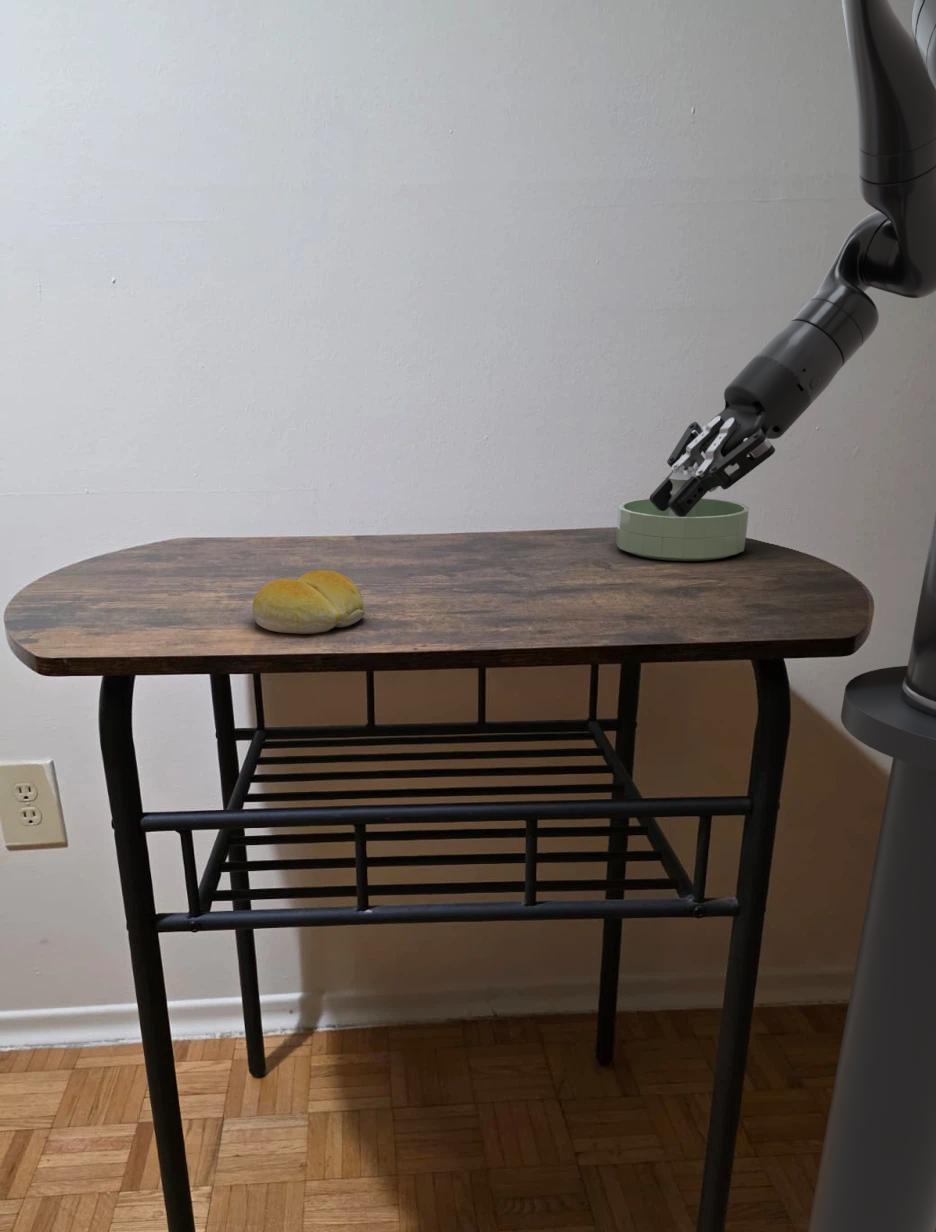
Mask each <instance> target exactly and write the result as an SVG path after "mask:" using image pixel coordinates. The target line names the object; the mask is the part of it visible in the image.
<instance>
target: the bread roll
mask: <svg viewBox="0 0 936 1232" xmlns="http://www.w3.org/2000/svg"><path fill="white" fill-rule="evenodd" d="M365 613H366V606H365V603H364V599H363V596H362V593H361V590H360V589H359V587H358V586H357V585H356V584H355V582H353V580H351V579H350V578H349V577H348V576H346V575H345V574H342V573H339V572H337V571H334V570H326V569H315V570H311V571H308V572H306V573H304V574H302V575H300V577H299V578H297V579H295V578H276V579H274V580H271V581H269V582H267V583H266V584H264V585H263V586H262V587H260V589H259V590H258V591H257V592H256V594H255V596H254V599H253V601H252V616H253V618H254V621H255V622H256V625H258V626H260V628H263V629H265V630H267V631H270V632H276V633H281V634H285V633H286V634H298V635H311V634H312V635H313V634H319V633H325V632H328V631H331V629H334V628H346V627H349V626H352V625H354V624H356V623H357V622H359V621H360V620H362V619H363V617H364V615H365Z"/></svg>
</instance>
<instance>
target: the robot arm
mask: <svg viewBox="0 0 936 1232" xmlns="http://www.w3.org/2000/svg"><path fill="white" fill-rule="evenodd" d="M912 5H913V6H912V10H911V17H910V18H911V19H910V20H911V23H910V24H911V34H912V36H911V34H910V33H909V32H908V31H907V29H906V28H905V26H904V25H903V24H902V23H901V21H900V19H899V18H898V16H897V15H896V13H895V12H894V10H893V7H892V5H891V4H890V1H889V0H841V6H842V13H843V20H844V26H845V27H844V28H845V33H846V40H847V46H848V53H849V59H850V65H851V71H852V76H853V84H854V90H855V91H854V92H855V99H856V101H855V102H856V111H857V132H858V133H857V135H858V136H857V137H858V180H859V191H860V195H861V198H862V199H863V201H864V202H865V203H866V204H867V205H869V206H870V207H871V208H873V209H874V210H876V211H874V212H871V213H870V214H868V215H866V216H865V217H863V218H862V219H860V220H859V221H858V222H857V224H855V225H854V226H853V227H852V229H851V230H850V231H849V232H848V234H847V236H846V237H845V238H844V241H843V243H842V245H841V246H840V249H839V250H838V252H837V255H836V256H835V258H834V260H833V262H832V263H831V266H830V267H829V269H828V271H827V273H826V274H825V276H824V278H823V280H822V282H821V283H820V285H819V287H818V289H817V291H816V292H815V294H814V295H813V296H812V297H811V298H810V299H809V300H808V301H807V303H805V305H804V306H803V307H802V308H801V309H800V310H799V311H798V312H797V313H796V314H795V315H794V317H793V318H792V319H790V321H789V322H788V323H787V324H786V325H785V326H784V327H783V328H782V329H780V330H779V331H778V332H777V333H776V334H775V335H773V336H772V337H771V338H770V339H769V340H768V341H767V343H766V344H765V345H764V346H763V347H761V349H760V350H759V351H758V352H757V354H755V356H754V357H753V358H752V359H751V360H750V361H749V362H748V363H747V364H746V365H745V367H743V369H742V370H741V371H740V372H739V373H738V374H737V375H736V377H734V379H732V380H731V382H730V383H729V384H728V385H727V386H726V388H725V389H724V391H723V399H724V408H723V410H721V411H720V412H719V413H718V414H717V415H715V416H714V417H713V418H712V419H710V421H709V422H708V423H707V424H706V425H703V426H700V425H699V423H698V422H697V421H694V422H691V423H690V424H689V425H688V426H687V428H686V430H685V431H684V432H683V435H682V436H681V437H680V439H679V440H678V442H677V444H676V445H675V448H674V449H673V450H672V452H671V453H670V455H669V457H668V459H667V460H666V463H667V465H668V466H669V467H670V470H671V472H670V474H668V475H667V477H666V478H665V479H664V480H663V481H661V483H660V484H659V485H658V487H657V488H655V489H654V491H653V492H652V493H651V494H650V495H649V498H650V501H651V502H652V503H653V505H654V506H655V507H656V508H657V509H658V510H661V511H665V510H667V508H668V507H669V508H670V509H671V510H672V511H673V512H674V513H675V514H676V515H677V516H679V517H684V516H686V514H687V513H688V512H689V511H690V510H691V509H692V508H693V507H694V506H695V505H696V504H697V503H698V501H699V500H700V499H701V498H704V497H705V496H706V494H707V493H708V492H709V493H711V492H714V491H716V490H717V489H718V488H719V487H720V488H721V489H722V490H728V489H729V488H731V487H732V486H733V485H734V484H735V483H737V482H739V481H740V480H741V479H743V478H744V477H745V476H747V474H748V475H749V473H750V472H752V471H754V469H756V467H758V466H759V465H761V464H762V463H764V462H765V461H766V460H768V459H769V458H770V457H771V456H773V455H774V454H775V452H776V448H775V447H774V445H773V443H772V442H771V441H770V440H776V439H780V438H781V437H782V436H783V435H784V434H785V433H786V432H787V431H788V430H789V429H790V427H791V426H793V424H794V423H795V422H796V421H797V420H798V419H799V418H800V417H801V416H802V414H803V413H804V412H805V411H806V410H808V409H809V407H810V406H811V405H812V404H813V403H814V402H815V401H816V399H818V397H819V396H821V394H822V393H823V392H824V391H825V390H826V389H827V387H828V386H829V385H830V384H831V382H832V380H834V378H835V377H836V375H837V374H838V372H839V371H841V369H842V368H843V367H844V366H845V365H846V363H848V361H849V360H851V358H852V357H853V356H854V355H855V354H856V353H857V352H858V351H859V350H860V348H861V347H862V346H863V345H865V344H866V342H867V341H868V339H870V337H872V335H873V333H874V332H875V331H876V329H877V327H878V326H879V325H878V324H879V322H880V314H879V310H878V308H877V305H876V303H875V302H874V300H872V298H871V297H870V296H869V295H868V293H866V291H867V290H868V289H869V288H873V289H877V290H880V291H884V292H887V293H890V294H894V295H897V296H899V297H903V298H908V299H922V298H925V297H928V296H930V295H932V294H934V293H936V0H913V4H912ZM702 453H703V454H704V456H705V457H704V456H703V455H702ZM695 464H696V466H695ZM694 466H695V467H694ZM674 467H678V469H680V467H685V469H684V470H687V469H688V467H694V468H699V469H698V470H697V471H696V473H695V475H696V476H697V477H693V476H691V477H690V478H689V480H688V481H687V482H686V483H685V484H684V485H683V486H682V487H681V488H680V489H679V490H678V491H677V493H676V494H675V495H674V496H673V497H672V495H671V494H670V492H671V491H672V489H673V484H672V482H671V481H670V479H669V477H670V476H671V474H672V473H673V468H674ZM693 471H694V469H693ZM934 512H935V513H934V517H933V523H932V529H931V533H930V534H931V535H930V540H929V543H928V544H929V545H928V550H927V556H926V557H927V558H926V562H925V567H924V572H923V578H922V583H921V589H920V594H919V599H918V605H917V611H916V617H915V621H914V628H913V634H912V638H911V639H912V640H911V646H910V651H909V657H908V662H907V666H908V667H907V673H906V677H905V678H904V681H903V686H902V692H901V696H902V698H903V700H904V701H905V702H906V703H907V704H909V705H910V706H912V707H913V708H915V709H917V710H919V711H921V712H923V713H926V714H928V715H931V716H934V717H936V510H935V511H934Z"/></svg>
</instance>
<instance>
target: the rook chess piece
mask: <svg viewBox="0 0 936 1232" xmlns="http://www.w3.org/2000/svg"><path fill="white" fill-rule="evenodd" d="M684 469H685V467H680V469H678V467H674V468H673V473H672V474H671V476H670V477H669V479H670V481H671V482H672V484H673V489H672V491H671V492H670V494H671V495H672V497H673V496H674V495H675V494H676V493H677V491H678V490H679V489H680V488H681V487H682V486H683V485H684V484H685V483H686V482H687V481H688V480H689V478H690V477H691V476H693V477H697V476H696V475H695V473H696V471H697V470H698V469H699V468H695V467H694V466H693V467H688V469H687V470H684ZM693 469H694V471H693ZM668 516H677V515H676V514H675V513H674V512H673V511H672V510H671V509H670V510H669V515H668ZM677 517H679V516H677ZM684 517H696V509H695V506H694V507H693V508H692V509H691V510H690V511H689V512H688V513H687V514H686V516H684Z"/></svg>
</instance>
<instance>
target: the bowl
mask: <svg viewBox="0 0 936 1232" xmlns="http://www.w3.org/2000/svg"><path fill="white" fill-rule="evenodd" d="M617 508H618V509H617V524H616V540H615V545H616V546H617V548H618V549H620V550H621V551H624V552H627V553H629V554H632V555H635V556H638V557H642V558H647V559H654V560H661V561H663V560H664V561H673V562H674V561H676V562H698V561H699V562H700V561H714V560H719V559H726V558H728V557H730V556H735V555H737V554H740V553H742V552H745V548H746V542H747V533H748V525H749V524H748V523H749V514H750V507H749V506H747V505H746V504H744V503H740V502H736V501H732V500H726V499H718V498H708V497H702V498H701V499H700V500H699V501H698V503H697V504H696V505H695V509H696V517H677V516H668V515H669V510H670V508H669V507H668V508H667V510H665V511H661V510H658V509H657V508H656V507H655V506H654V505H653V503H652V502H651V501H650V497H645V498H637V499H631V500H627V501H624V502H621V503H620V504H619V505H618V506H617Z"/></svg>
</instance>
